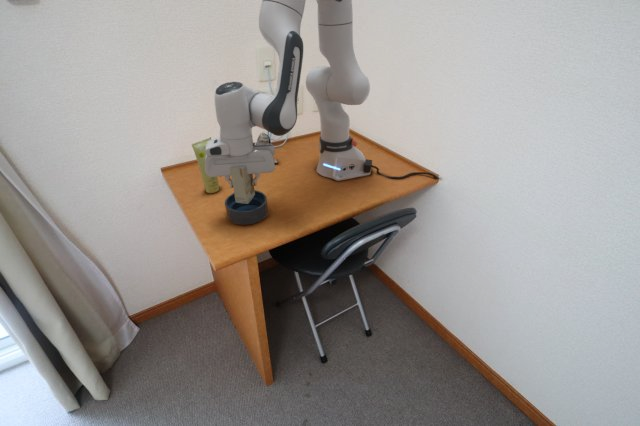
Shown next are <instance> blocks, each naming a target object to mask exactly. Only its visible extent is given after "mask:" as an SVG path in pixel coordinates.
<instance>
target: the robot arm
mask: <svg viewBox="0 0 640 426" xmlns="http://www.w3.org/2000/svg"><path fill="white" fill-rule="evenodd" d="M315 1H316V4H317V33H318V49H319V53H320V54H321V55H322V56H323V57H324V58H325V59H326V61H327V63H328V64H329V66H326V65H321V66H314V67H311V68H310V69H309V71H307V74H306V77H305V88H306V90H307V92H308V93H309V94H310V95H311V97H312V99H313V100H314V103H315V104H316V108H317V111H318V114H319V121H320V122H319V123H320V136H319V141H318V151H319V156H318V157H319V158H318V162H317V166H316V168H315V171H316V173H317V174H319V176H322V177H325V178H328V179H332V180H335V181H337V182H340V181H346V180H351V179H355V178H361V177H367V176H370V175H371V174H372V168H373V169H375V170H376V173H377V175H379V176H383V177H385V178H388V179H392V180H394V179H395V180H401V179H405V178H407V177H410V176H412V175H428V176H432V177H433V178H435V180H439V177H438V176H437V175H435V174H434V173H432V172H426V171H419V172H418V171H416V172H415V171H414V172H410V173H407V174H405V175H402V176H401V175H400V176H389V175H385V174H382V173H381V172H380V169H379V167H378V166H376V165H373V159H367V158H366V157H365V155H364V153H363V152H362V151H361V150H360V149H359V148H357V146H358V142H357V141H356V140H355V139H354V138H353V137H352V136H351V135H350V125H351V118H350V116H349V114H348V113H347V111H346V110H345V109H344V107H343V106H342V104H343V105H346V106H360V105H362V104H364V102H365V101H366V100H367V99H368V97H369V94H370V91H371V83H370V80H369V78H368V76H366V74H365V73H364V72H363V71H362V69H361V66H360V65H359V64H358V61H357V58H356V54H355V50H354V33H353V32H354V29H353V27H354V25H353V23H354V22H353V21H354V17H353V15H354V14H353V12H354V11H353V0H315ZM306 2H307V0H261V5H260V9H259V15H258V29H259V31H260V33H261V36H262V38H263V39H264V40H265V42H266V43H267V44H268V45H270V46H271V47H272V48H273V50H274V51H275V52H276V54H277V55H278V60H279V64H278V65H279V66H278V73H277V80H276V88H275V92H274V94H271V93H268V92H265V91H262V90H257V89H253V88H250V87H248V86H246V85H244V84H243V82H239V81H231V82H230V81H229V82H225V83H222V84H220V85H219V86H218V87H216V89H215V92H214V109H215V116H216V121H217V123H218V125H219V136H217V137H215V138H211V140H210V141H208V143H207V145H206V157H205V171H206V175H207V176H209V177H217V178H219V177H224V180H225V181H226V182H227V183H228V184H229V187H230V189H233V182H232V178H231V177H232V176H231V169H230V167H240V166H245V167H246V169H247V174H253V175H254V177H253V179H252V186H254V187H256V186H258V180H259V179H260V174H269V173H273V172H274V171H275V170H276V165H275V164H276V163H275V164H274V159H275V158H274V155H275V152H276V148H275V146H274V144H273V143H272V142H271V143H269V142H264V143H260V142H258V143H257V142H254V139H253V138H254V137H253V131H252V130H253V128H254V127H257V128H260V129H263V130H264V131H267V133H268V132H269V133H271V134H272V135H274V136H275V137H282V136H285V135H286V134H288V133H290V131H292V130H293V128H294V127H295V126H296V123H297V120H298V96H299V89H300V82H301V75H302V68H303V59H304V41H303V38H302V37H301V27H302V26H301V25H302V20H303V17H304V11H305V7H306ZM273 158H274V159H273Z"/></svg>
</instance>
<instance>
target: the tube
mask: <svg viewBox="0 0 640 426" xmlns="http://www.w3.org/2000/svg"><path fill="white" fill-rule="evenodd" d="M210 140H212V137H208V138H205V139H202V140H200V141H197V142H194V143H191V147H192V149H193V152H194V155H195V158H196V161H197V164H198V167H199V171H200V174H201V175H200V176H201V178H202V182H203V186H204V190H205V192H206V193H207V194H214V193H217V192H219V191H220V185H219V179H218V178H219V177H209V176H207V175H206V171H205V157H206V145H207V143H208V141H210Z"/></svg>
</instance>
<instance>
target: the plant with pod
mask: <svg viewBox="0 0 640 426" xmlns="http://www.w3.org/2000/svg"><path fill="white" fill-rule="evenodd" d="M269 133H270V132H268V131H267V133H266V132H264V131H263V132H260V134H259V135H258V137H257V139H256V143H258V142H260V143H264V142H269V143H271V144H272V141H271V140H272V139H271V137H270V134H269ZM273 159H274V164H279V161H277V159H276V158H275V157H273Z"/></svg>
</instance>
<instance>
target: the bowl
mask: <svg viewBox="0 0 640 426" xmlns="http://www.w3.org/2000/svg"><path fill="white" fill-rule="evenodd" d="M254 190H255V195H254V197H253V198H252V200H251V201H250V202H249V203H248V204H244V203H237V202H236V201H235V195H234V192H233V193H231V194H230V195H228V196H227V197H226V198H225V200H224V208H225V211H226V217H227V219H228V221H230V222H231V223H232V224H236V225H242V226H247V225H248V226H249V225H253V224H257V223H260V222H262V221H263V220H264V219H265V218H266V217H267V216H268V214H269V207H268V197H267V196H266V194H265V193H264V192H262V191H260V190H256V189H254Z"/></svg>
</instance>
